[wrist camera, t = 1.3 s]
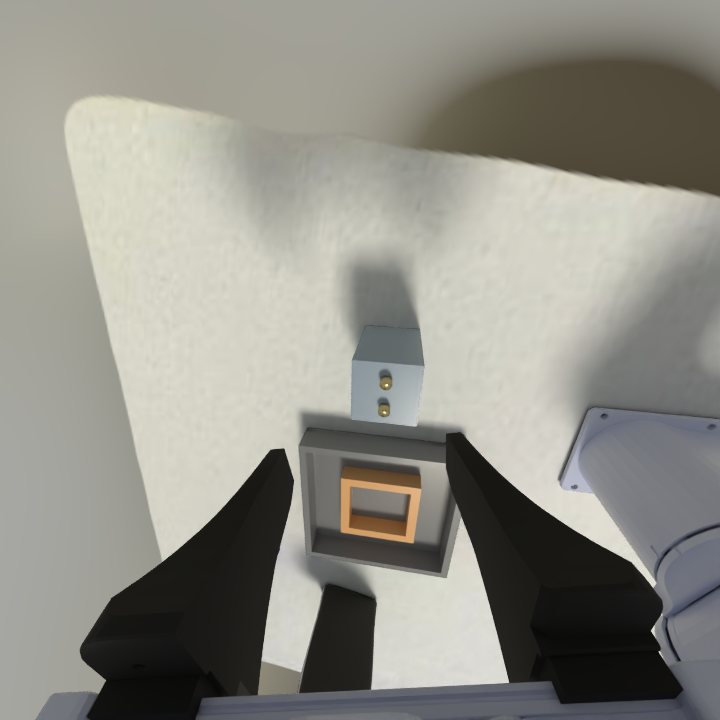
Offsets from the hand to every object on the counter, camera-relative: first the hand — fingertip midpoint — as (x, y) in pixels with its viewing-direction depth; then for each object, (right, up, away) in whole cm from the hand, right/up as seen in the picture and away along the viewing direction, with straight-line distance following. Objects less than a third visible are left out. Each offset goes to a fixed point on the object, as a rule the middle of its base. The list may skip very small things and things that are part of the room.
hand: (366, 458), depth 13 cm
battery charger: (-2, -25, +24) cm, 34 cm away
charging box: (+2, -9, +16) cm, 18 cm away
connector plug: (+2, +5, +10) cm, 11 cm away
